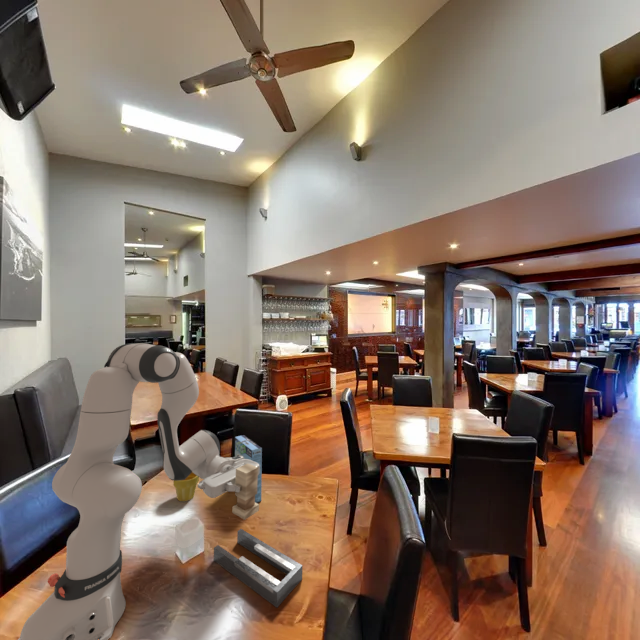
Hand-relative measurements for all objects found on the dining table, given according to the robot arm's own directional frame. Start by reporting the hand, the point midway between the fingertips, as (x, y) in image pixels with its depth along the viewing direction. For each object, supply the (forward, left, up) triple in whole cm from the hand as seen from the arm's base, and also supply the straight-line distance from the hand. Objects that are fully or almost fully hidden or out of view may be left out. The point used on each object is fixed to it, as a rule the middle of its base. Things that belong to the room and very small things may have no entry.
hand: (248, 485), depth 95 cm
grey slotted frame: (-1, -5, -24) cm, 24 cm away
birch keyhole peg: (0, +1, -9) cm, 9 cm away
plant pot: (+8, +48, -24) cm, 54 cm away
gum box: (+26, +29, -24) cm, 46 cm away
